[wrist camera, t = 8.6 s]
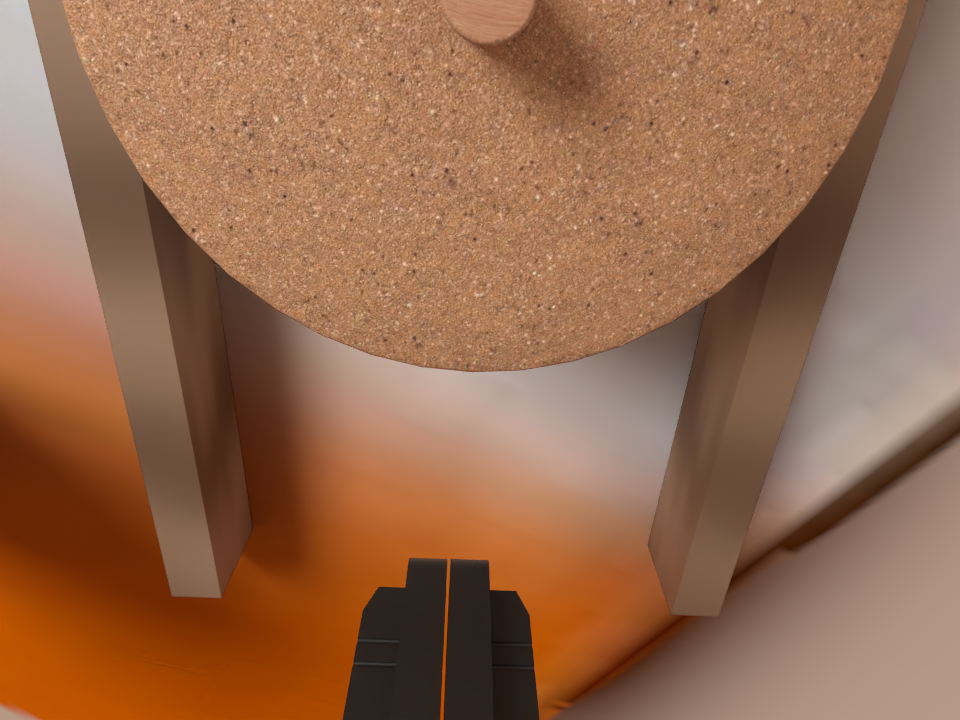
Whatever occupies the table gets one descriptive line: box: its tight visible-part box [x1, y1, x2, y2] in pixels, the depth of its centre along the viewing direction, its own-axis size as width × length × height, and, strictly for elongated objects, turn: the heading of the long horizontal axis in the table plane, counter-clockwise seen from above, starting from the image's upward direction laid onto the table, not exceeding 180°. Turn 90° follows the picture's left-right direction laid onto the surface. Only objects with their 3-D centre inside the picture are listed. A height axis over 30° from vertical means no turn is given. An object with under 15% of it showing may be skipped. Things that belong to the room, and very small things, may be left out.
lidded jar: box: [62, 0, 909, 372], centre depth 10 cm, size 11×11×9 cm
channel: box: [28, 0, 927, 616], centre depth 14 cm, size 25×17×4 cm
